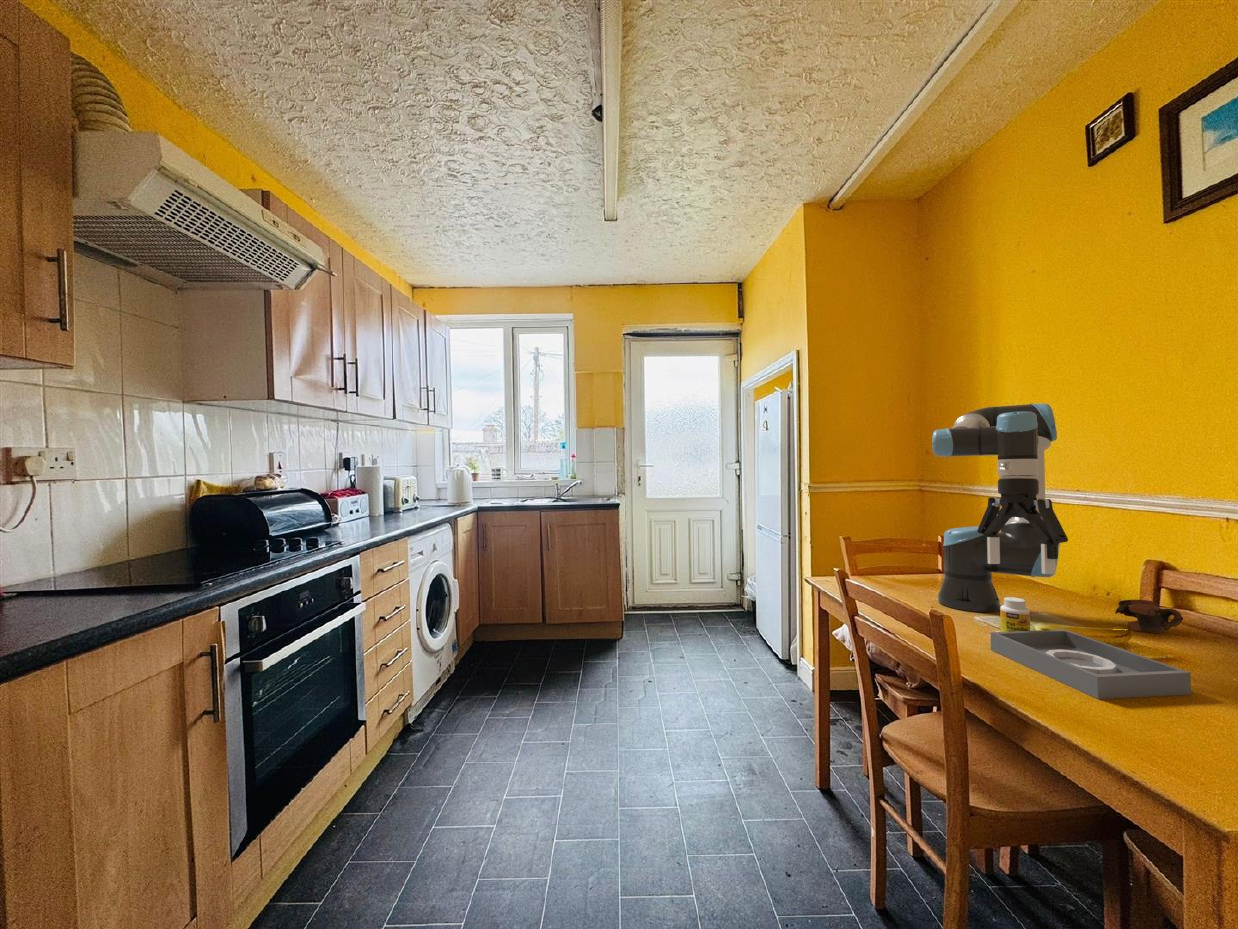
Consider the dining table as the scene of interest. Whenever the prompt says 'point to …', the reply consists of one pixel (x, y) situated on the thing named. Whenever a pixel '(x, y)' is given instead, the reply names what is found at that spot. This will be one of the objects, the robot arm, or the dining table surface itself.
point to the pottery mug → (1148, 615)
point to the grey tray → (1091, 664)
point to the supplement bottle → (1014, 615)
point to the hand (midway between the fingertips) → (1019, 568)
